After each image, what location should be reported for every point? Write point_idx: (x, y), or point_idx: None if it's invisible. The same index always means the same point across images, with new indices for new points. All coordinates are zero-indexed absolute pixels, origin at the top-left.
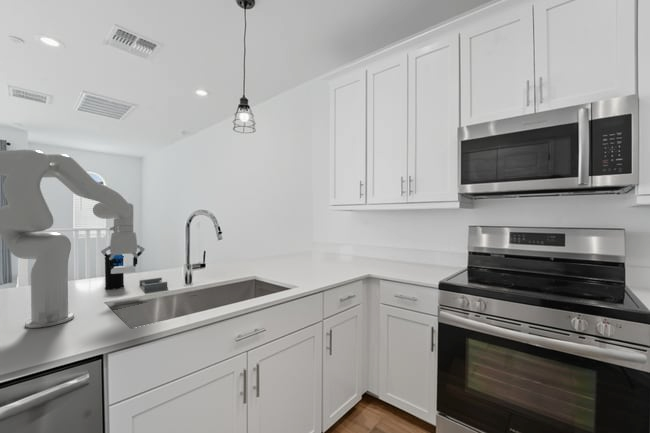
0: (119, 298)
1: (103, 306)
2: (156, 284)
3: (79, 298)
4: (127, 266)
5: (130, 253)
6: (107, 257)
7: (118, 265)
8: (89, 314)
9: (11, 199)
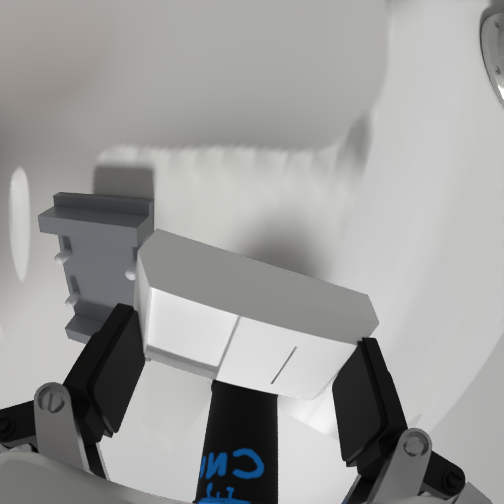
0: (289, 180)
1: (389, 81)
2: (81, 219)
3: (394, 320)
4: (199, 369)
5: (102, 481)
6: (438, 459)
7: (226, 465)
8: (442, 20)
9: None
